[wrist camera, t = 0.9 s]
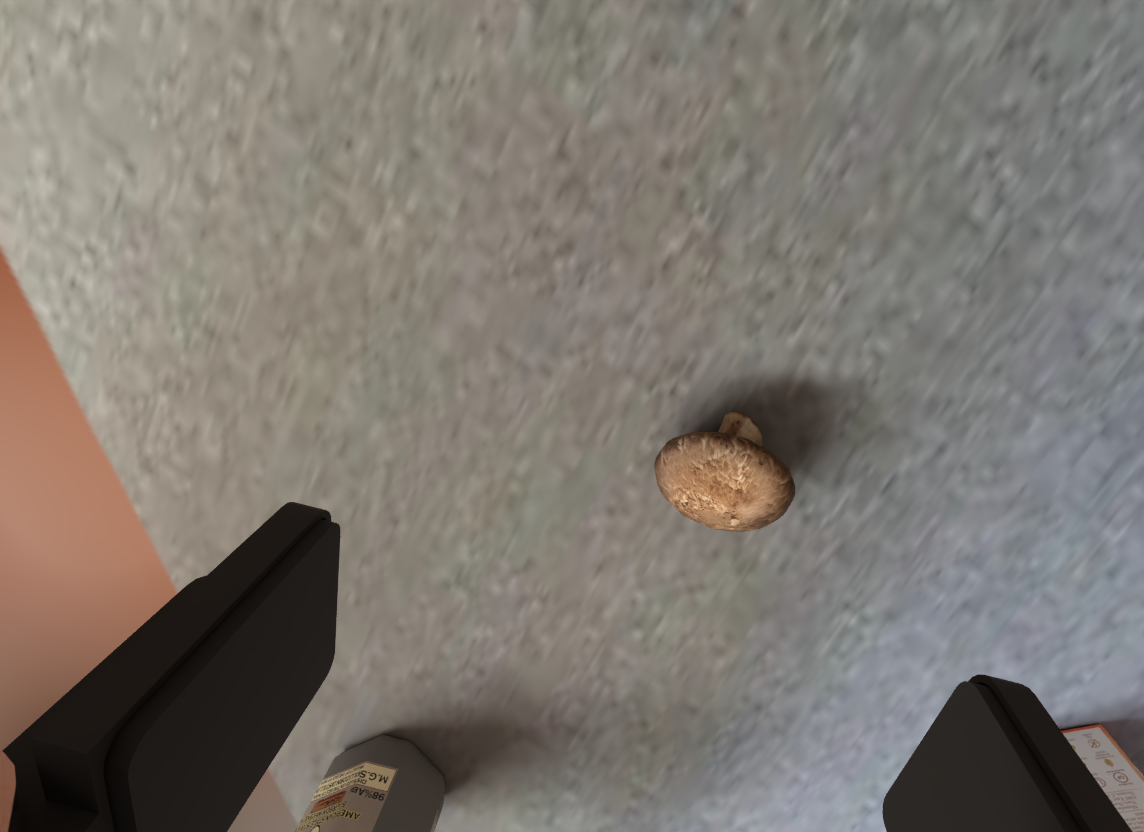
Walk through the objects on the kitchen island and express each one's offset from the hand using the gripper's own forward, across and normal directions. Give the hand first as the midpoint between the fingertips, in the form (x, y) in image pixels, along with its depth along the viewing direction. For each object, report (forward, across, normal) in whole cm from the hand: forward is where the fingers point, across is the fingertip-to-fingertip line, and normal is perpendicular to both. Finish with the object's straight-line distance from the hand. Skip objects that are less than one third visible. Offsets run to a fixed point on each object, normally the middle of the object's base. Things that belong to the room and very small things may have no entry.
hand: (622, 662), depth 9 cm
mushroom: (+28, -7, +9) cm, 30 cm away
